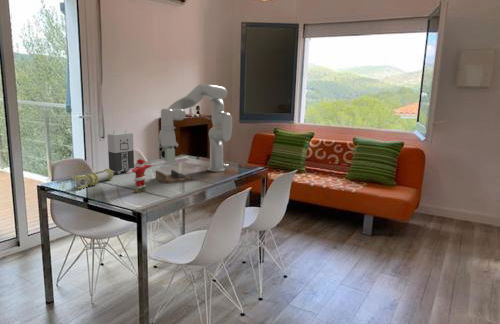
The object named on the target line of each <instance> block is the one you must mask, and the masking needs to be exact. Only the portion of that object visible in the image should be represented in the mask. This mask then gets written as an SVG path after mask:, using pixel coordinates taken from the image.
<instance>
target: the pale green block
mask: <svg viewBox="0 0 500 324" xmlns="http://www.w3.org/2000/svg"><path fill="white" fill-rule="evenodd" d="M164 151H165V158H163V157H162V156H161V155H160V160H161V161H164V162H166V163H172V162H174V163H175V162H176V149H174V148H171V147H170V146H169V147H165V148H164Z"/></svg>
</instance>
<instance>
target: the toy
mask: <svg viewBox="0 0 500 324" xmlns="http://www.w3.org/2000/svg"><path fill="white" fill-rule="evenodd" d="M134 149H135V148H134V133H133V132H128V130H127V129H125V130H124V132H117V133H116V131H115V130H113V132H112V133H107V150H108V152H107V155H108V169H110V170H112V172H113V174H117V175H120V174H121V172H122V171H123V172H128V171H129V170H131V169H134V168H135V156H134V155H135V154H134V153H135V152H134Z"/></svg>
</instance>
